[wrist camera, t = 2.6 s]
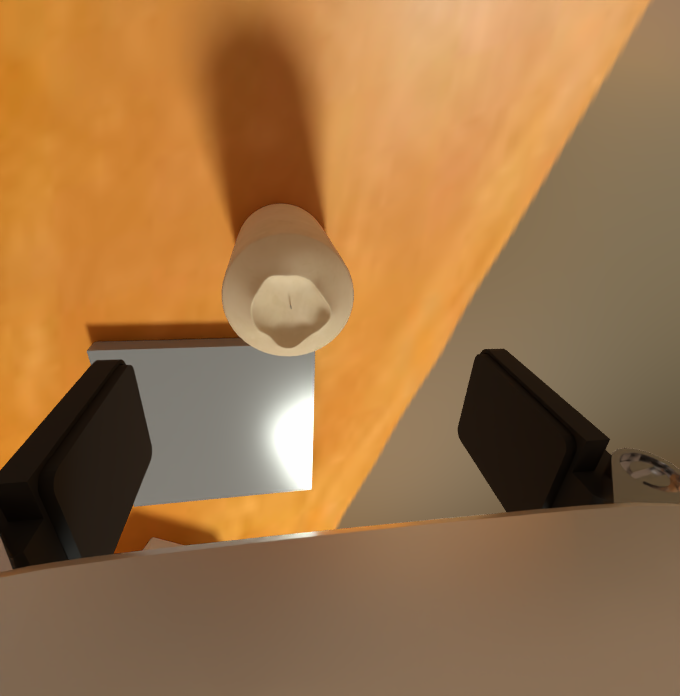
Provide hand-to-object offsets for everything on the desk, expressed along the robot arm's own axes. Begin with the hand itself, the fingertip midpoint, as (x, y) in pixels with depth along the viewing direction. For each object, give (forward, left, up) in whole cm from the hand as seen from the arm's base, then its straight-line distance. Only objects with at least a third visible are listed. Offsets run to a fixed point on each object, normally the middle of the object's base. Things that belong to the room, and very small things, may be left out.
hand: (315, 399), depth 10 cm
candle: (0, 0, -15) cm, 15 cm away
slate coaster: (+13, -5, -15) cm, 20 cm away
